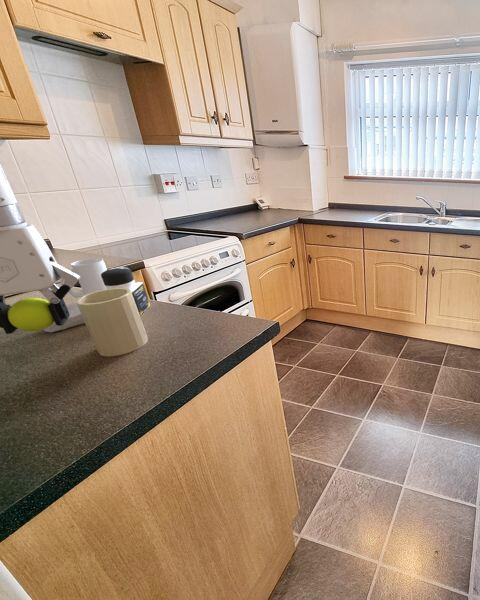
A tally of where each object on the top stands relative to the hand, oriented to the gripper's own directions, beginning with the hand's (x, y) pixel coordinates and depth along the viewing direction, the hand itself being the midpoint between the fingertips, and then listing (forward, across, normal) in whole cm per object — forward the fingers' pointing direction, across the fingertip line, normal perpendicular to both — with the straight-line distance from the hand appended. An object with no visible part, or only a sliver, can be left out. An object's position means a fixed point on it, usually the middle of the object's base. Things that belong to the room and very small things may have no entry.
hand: (38, 325), depth 57 cm
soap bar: (+13, -8, +31) cm, 34 cm away
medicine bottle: (+13, +4, +32) cm, 34 cm away
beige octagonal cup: (+12, +6, +12) cm, 18 cm away
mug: (+13, -6, +44) cm, 46 cm away
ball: (-2, 0, 0) cm, 2 cm away
